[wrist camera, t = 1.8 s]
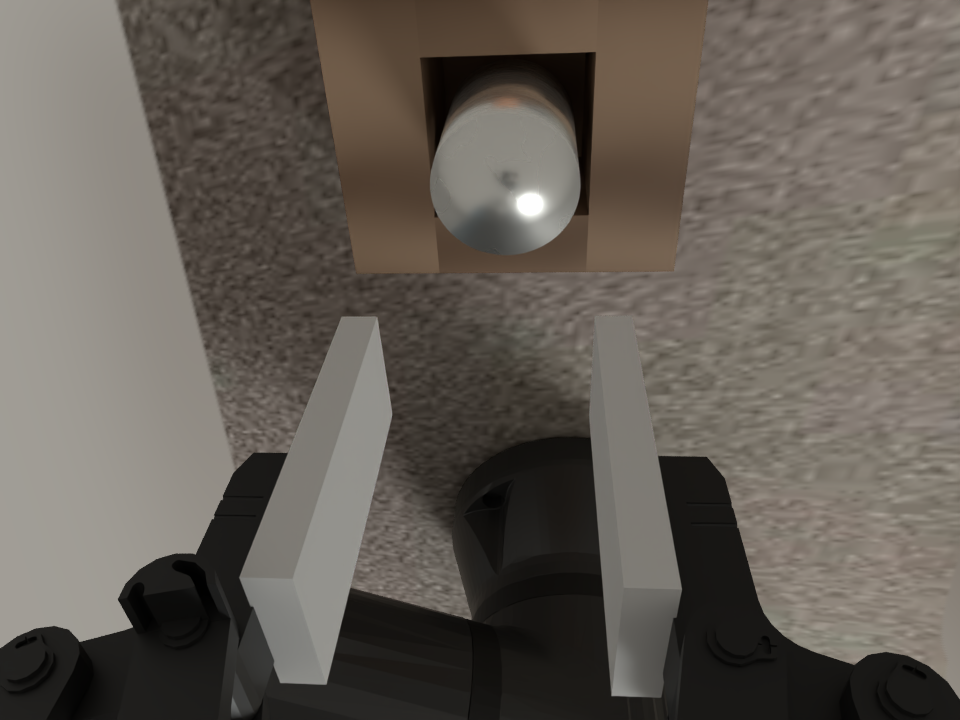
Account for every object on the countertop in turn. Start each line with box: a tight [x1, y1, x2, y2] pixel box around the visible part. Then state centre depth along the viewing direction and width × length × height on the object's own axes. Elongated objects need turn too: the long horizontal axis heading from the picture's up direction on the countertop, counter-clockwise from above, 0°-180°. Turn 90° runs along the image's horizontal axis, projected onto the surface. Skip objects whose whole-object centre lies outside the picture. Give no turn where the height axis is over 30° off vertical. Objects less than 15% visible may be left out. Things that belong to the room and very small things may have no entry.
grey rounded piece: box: [430, 59, 580, 255], centre depth 26 cm, size 5×5×6 cm
